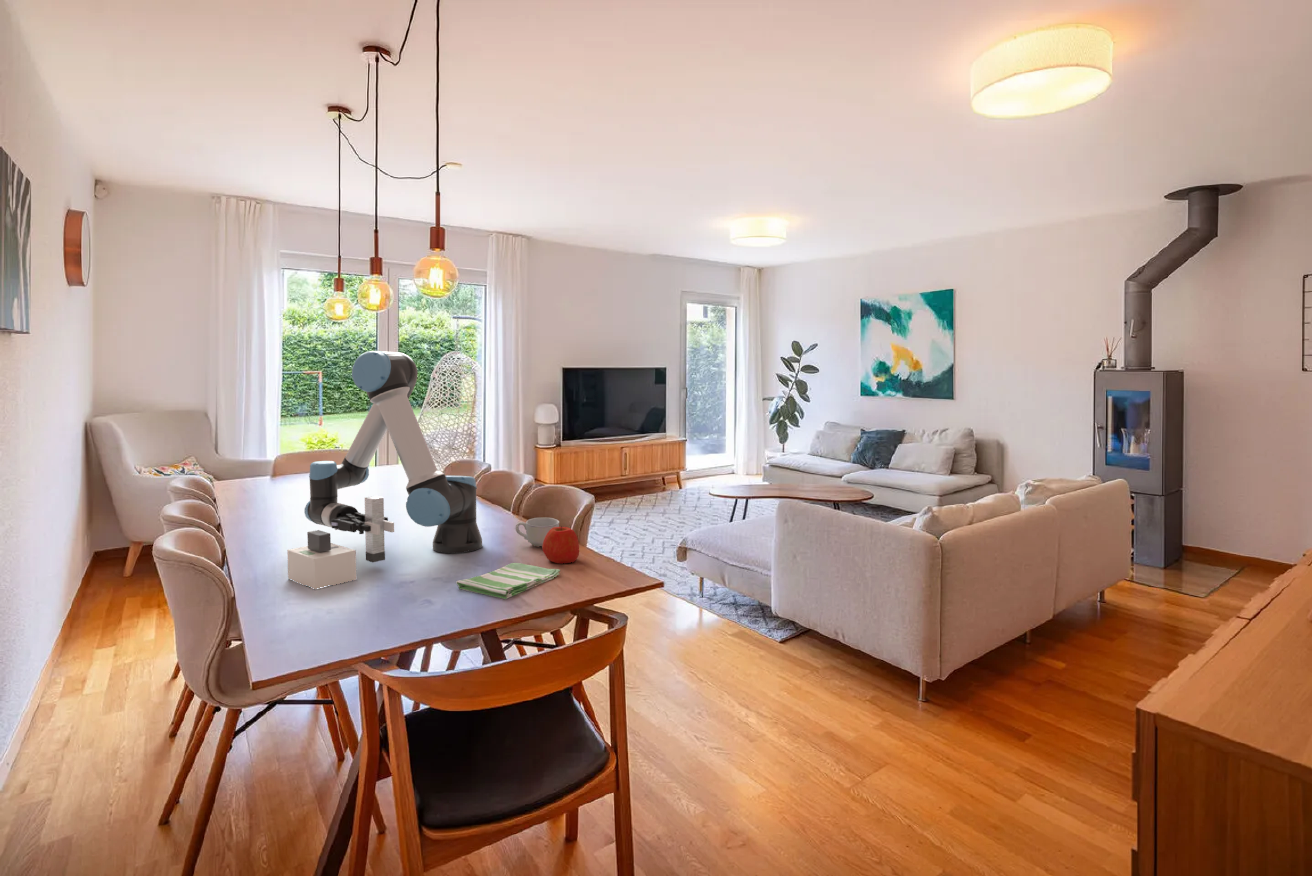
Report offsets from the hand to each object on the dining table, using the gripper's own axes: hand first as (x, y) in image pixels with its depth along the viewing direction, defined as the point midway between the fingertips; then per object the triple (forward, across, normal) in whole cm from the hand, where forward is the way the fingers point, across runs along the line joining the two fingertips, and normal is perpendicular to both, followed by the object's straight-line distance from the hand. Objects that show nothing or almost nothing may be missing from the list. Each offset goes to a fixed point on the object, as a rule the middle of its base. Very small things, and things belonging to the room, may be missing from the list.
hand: (385, 528), depth 188 cm
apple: (+31, -37, -12) cm, 50 cm away
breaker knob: (-5, +16, -4) cm, 17 cm away
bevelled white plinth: (-5, +15, -12) cm, 20 cm away
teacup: (+12, -47, -12) cm, 49 cm away
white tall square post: (-6, 0, -10) cm, 11 cm away
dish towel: (+34, -14, -12) cm, 39 cm away
